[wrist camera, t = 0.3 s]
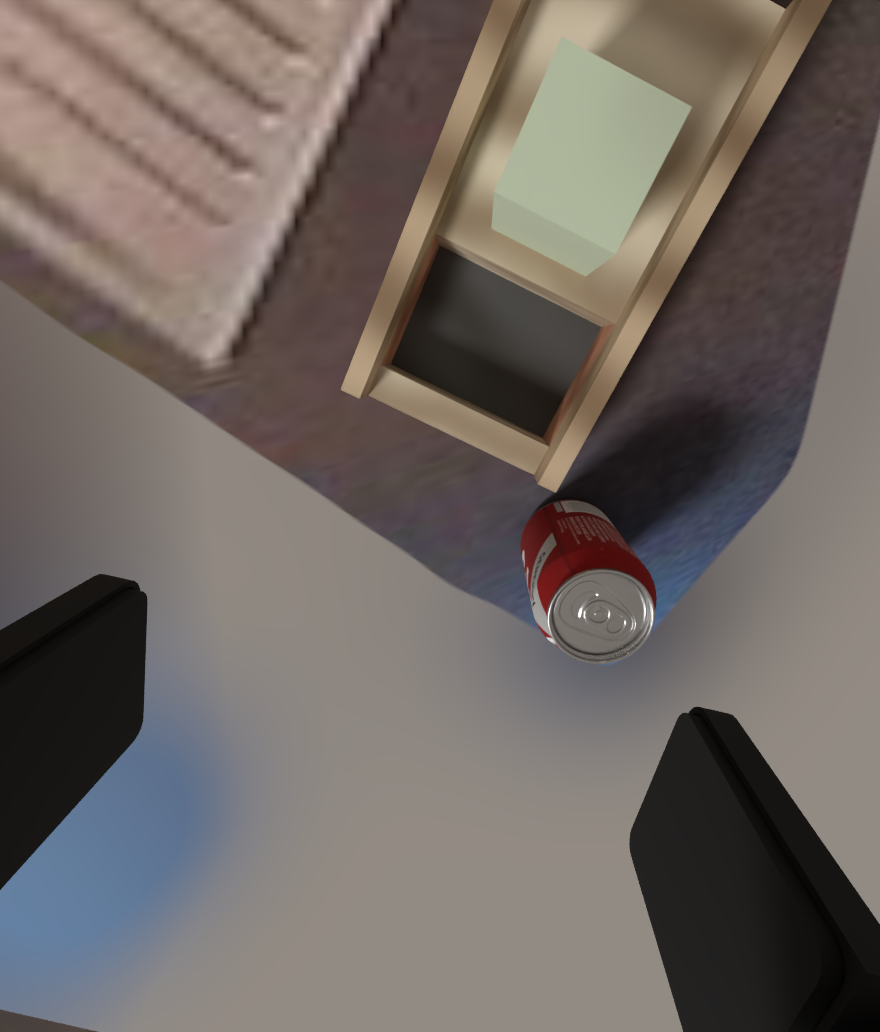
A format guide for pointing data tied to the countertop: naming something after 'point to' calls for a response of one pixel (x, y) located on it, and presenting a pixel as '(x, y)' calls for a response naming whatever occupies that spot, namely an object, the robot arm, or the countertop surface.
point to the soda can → (586, 583)
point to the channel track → (529, 274)
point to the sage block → (584, 159)
